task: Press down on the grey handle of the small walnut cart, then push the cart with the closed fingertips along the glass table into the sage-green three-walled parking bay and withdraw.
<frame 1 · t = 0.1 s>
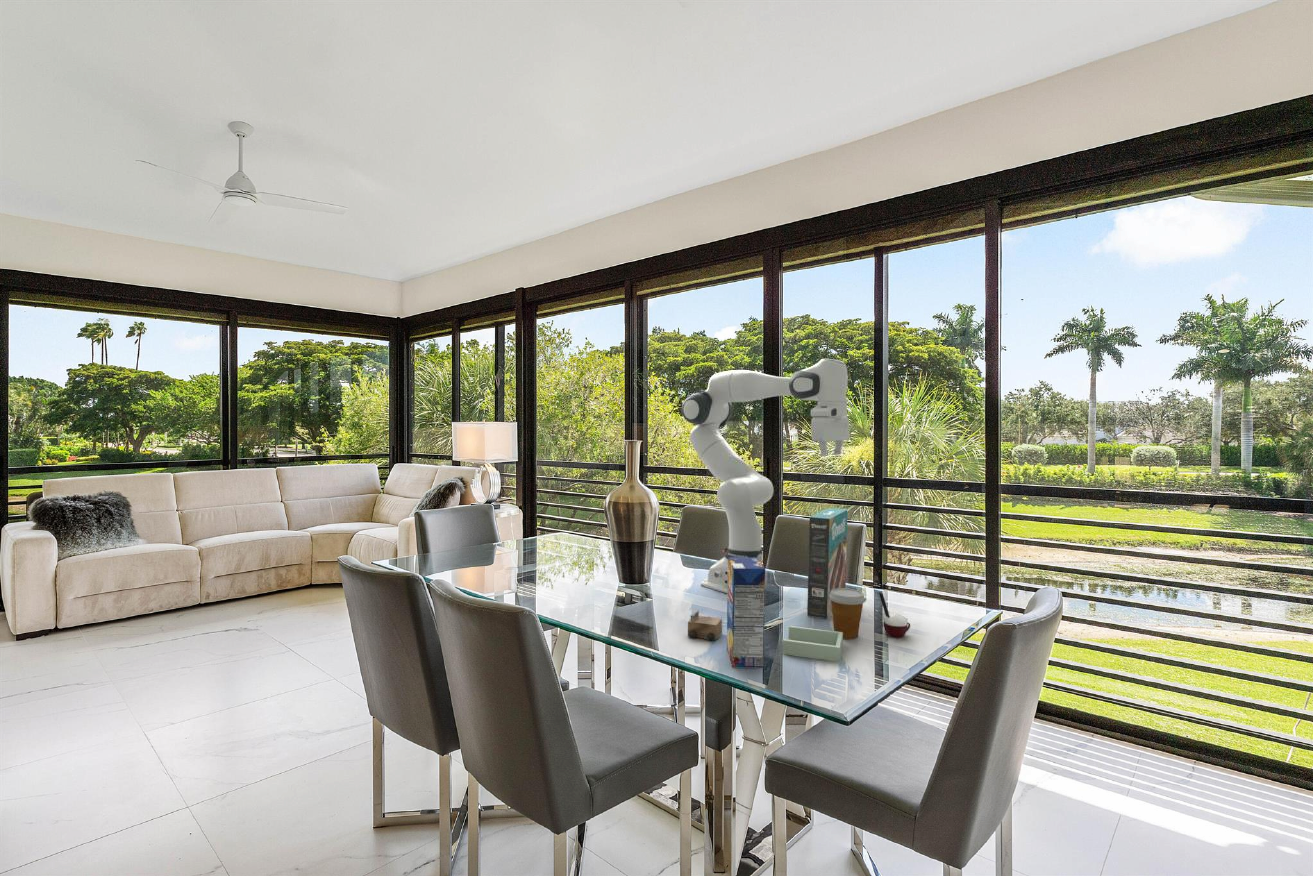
hand: (831, 455, 204), 48 cm above the table, tool pointing down, fingers open, 8 cm apart
cart: (704, 635, 179), on the table
bay: (812, 649, 169), on the table
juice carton: (744, 659, 162), on the table
disposable coffee cup: (845, 636, 180), on the table
cake mix box: (826, 608, 205), on the table
cocoa: (894, 636, 181), on the table
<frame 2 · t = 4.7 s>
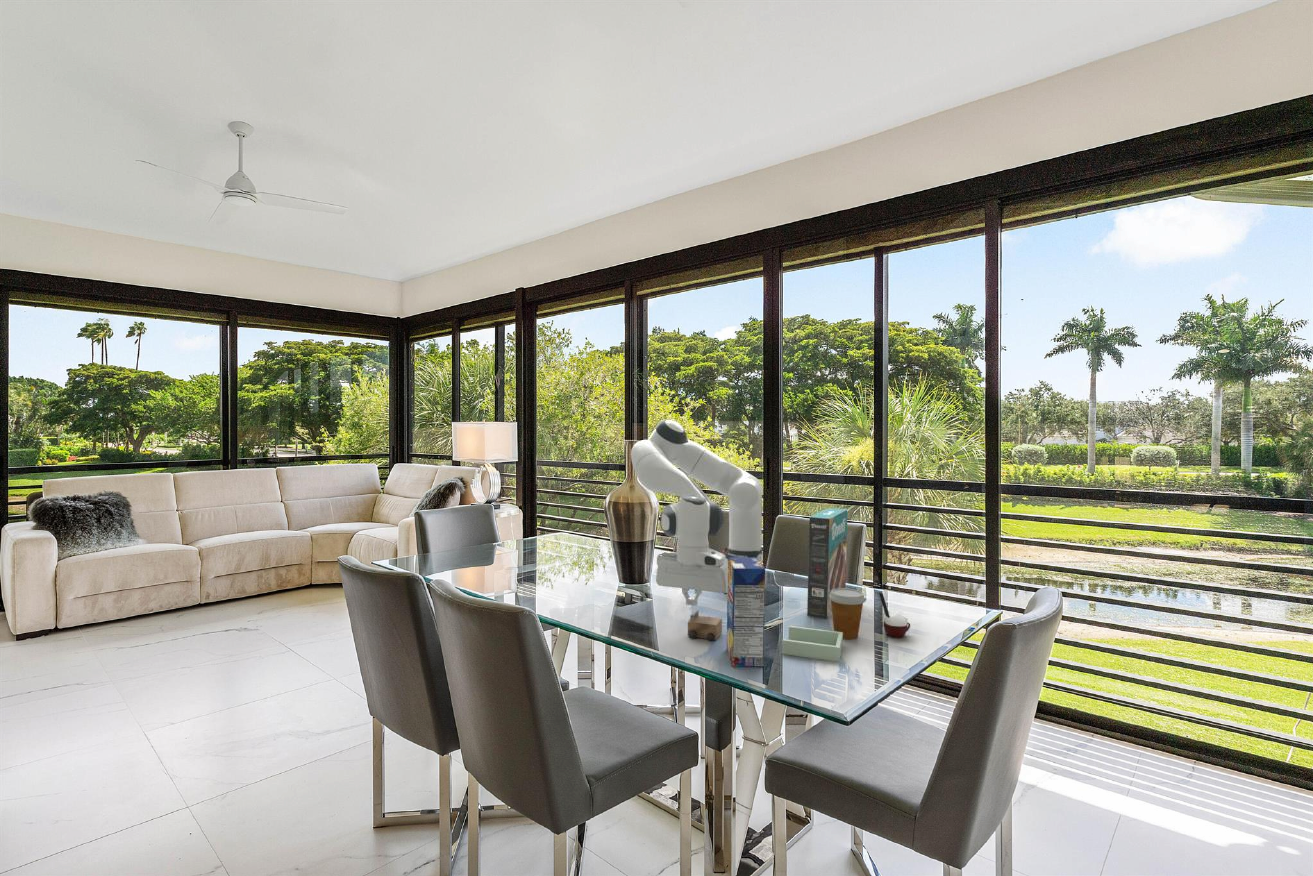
hand: (691, 604, 180), 8 cm above the table, tool pointing down, fingers closed
nothing on the table moved.
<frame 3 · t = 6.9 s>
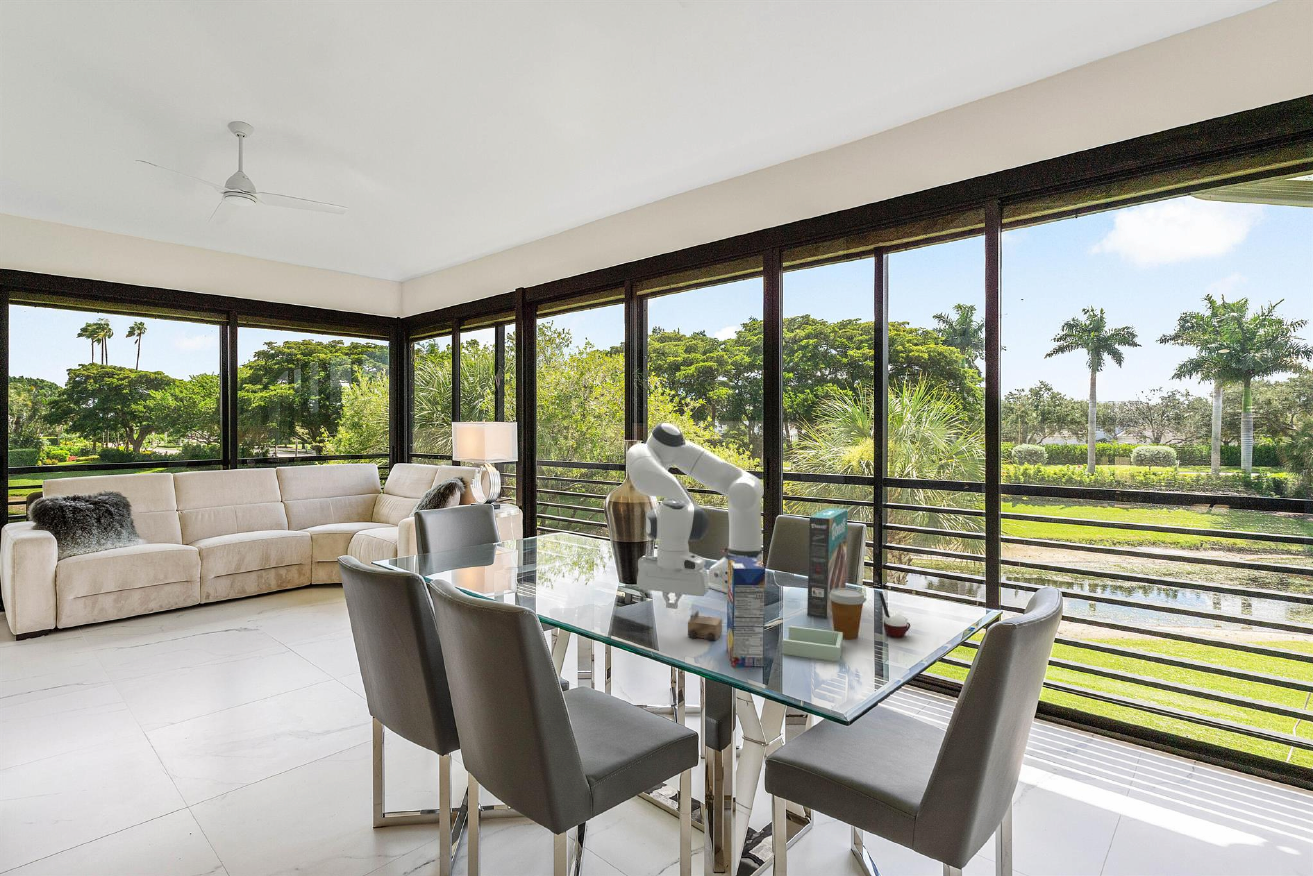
hand: (671, 607, 182), 6 cm above the table, tool pointing down, fingers closed
nothing on the table moved.
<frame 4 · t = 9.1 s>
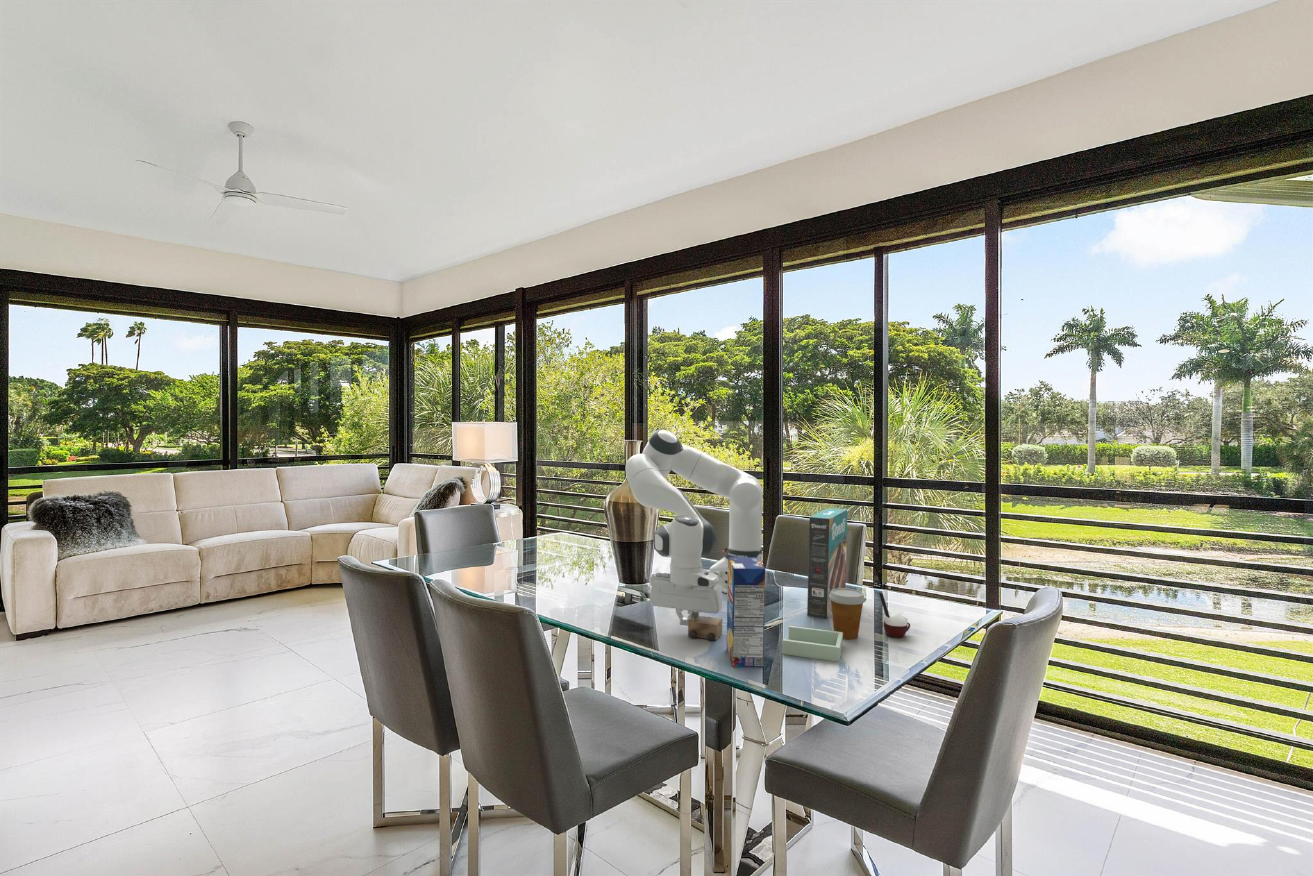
hand: (684, 624, 181), 2 cm above the table, tool pointing down, fingers closed
cart: (705, 635, 179), on the table, touching gripper
everything else where it was.
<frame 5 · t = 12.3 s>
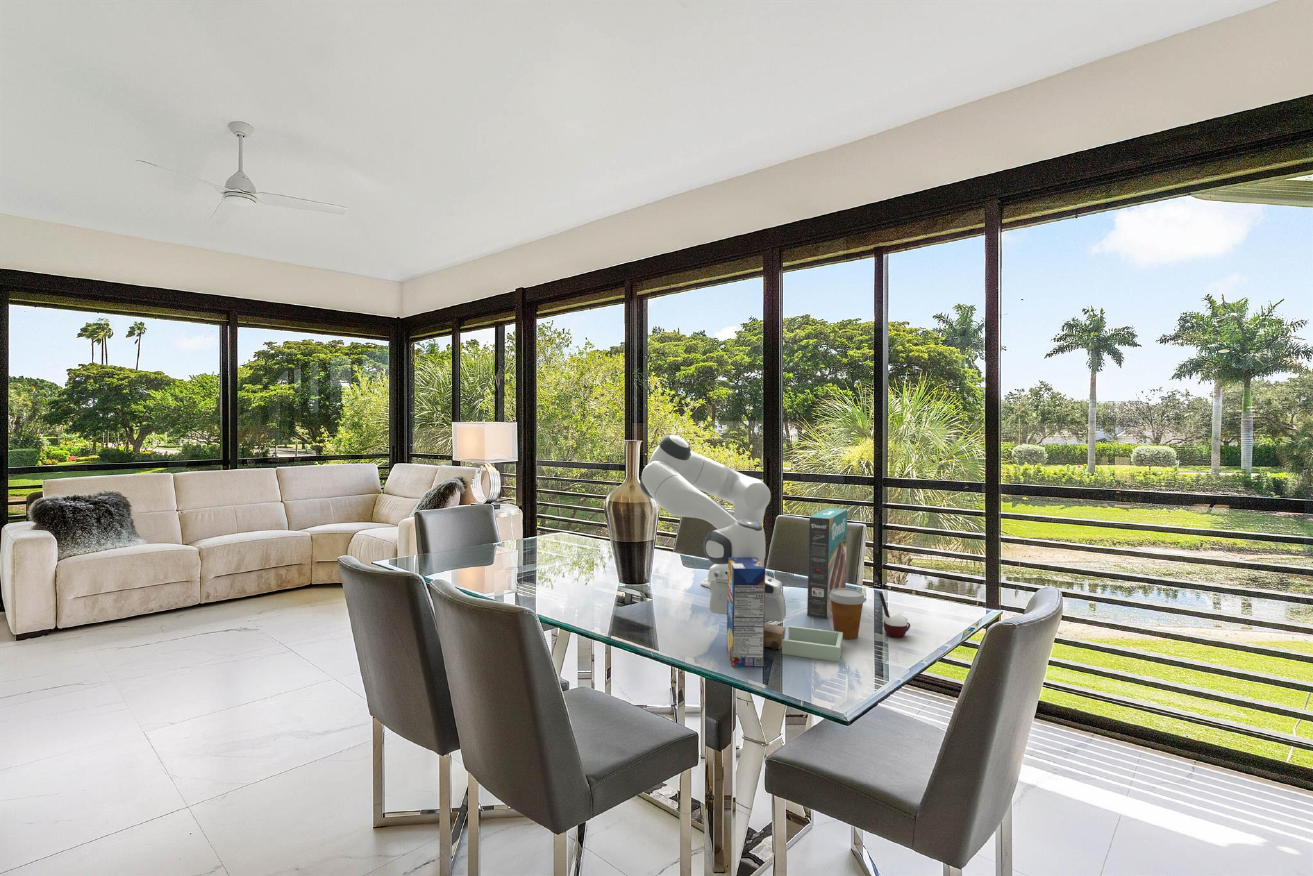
hand: (746, 633, 175), 2 cm above the table, tool pointing down, fingers closed
cart: (767, 643, 173), on the table, touching gripper
everything else where it was.
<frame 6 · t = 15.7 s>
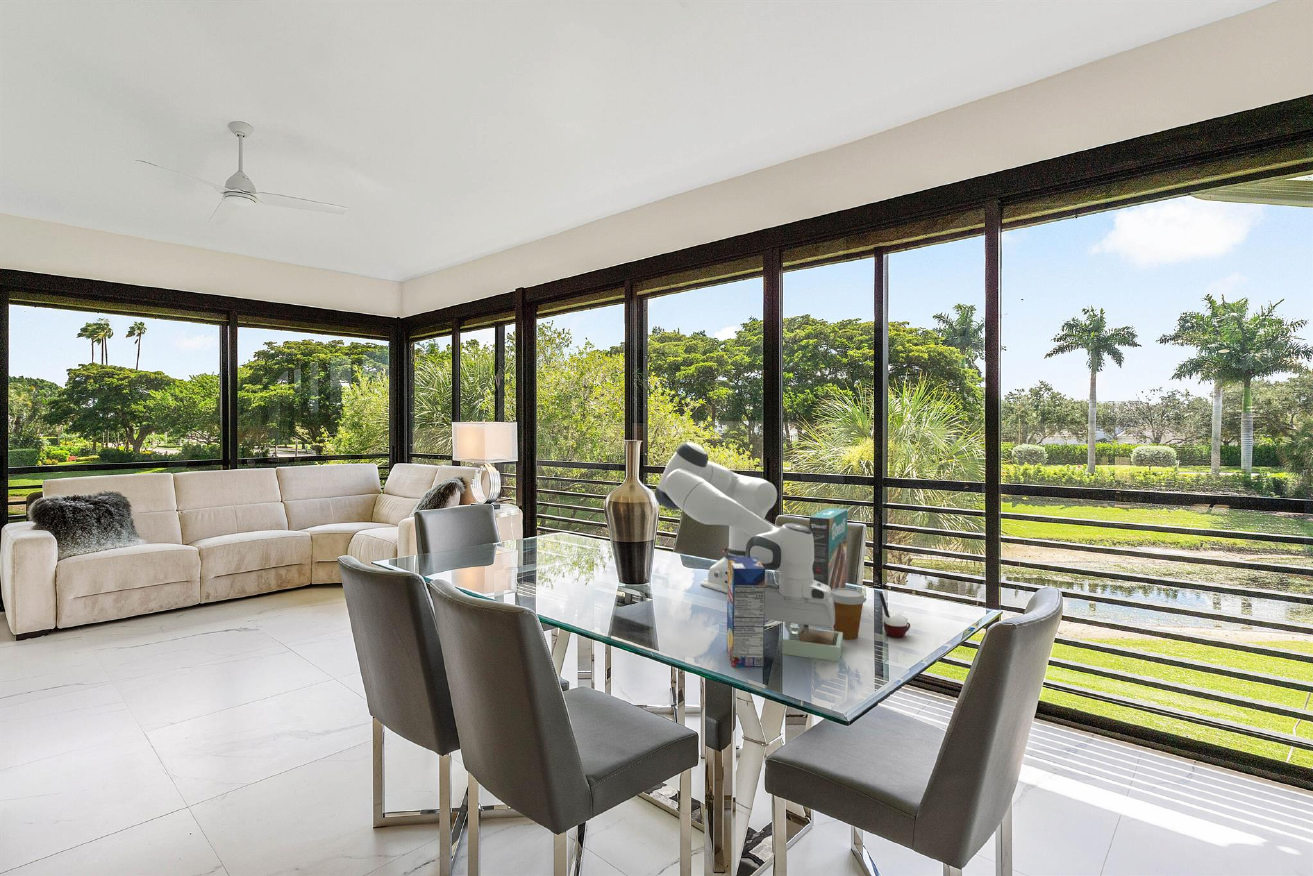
hand: (794, 639, 170), 2 cm above the table, tool pointing down, fingers closed
cart: (816, 649, 169), on the table, touching gripper
everything else where it was.
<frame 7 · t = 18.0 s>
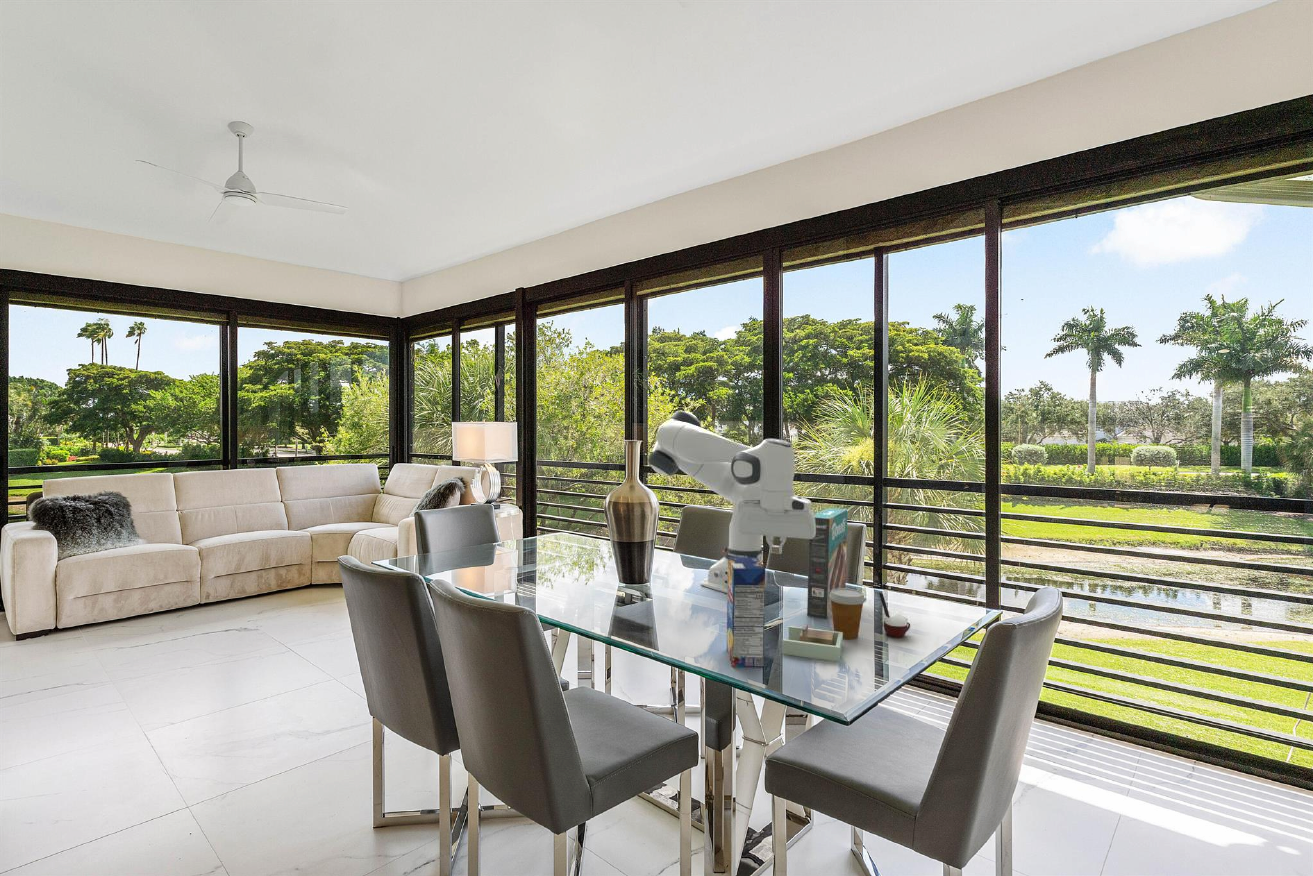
hand: (775, 553, 172), 24 cm above the table, tool pointing down, fingers closed
cart: (816, 650, 169), on the table
everything else where it was.
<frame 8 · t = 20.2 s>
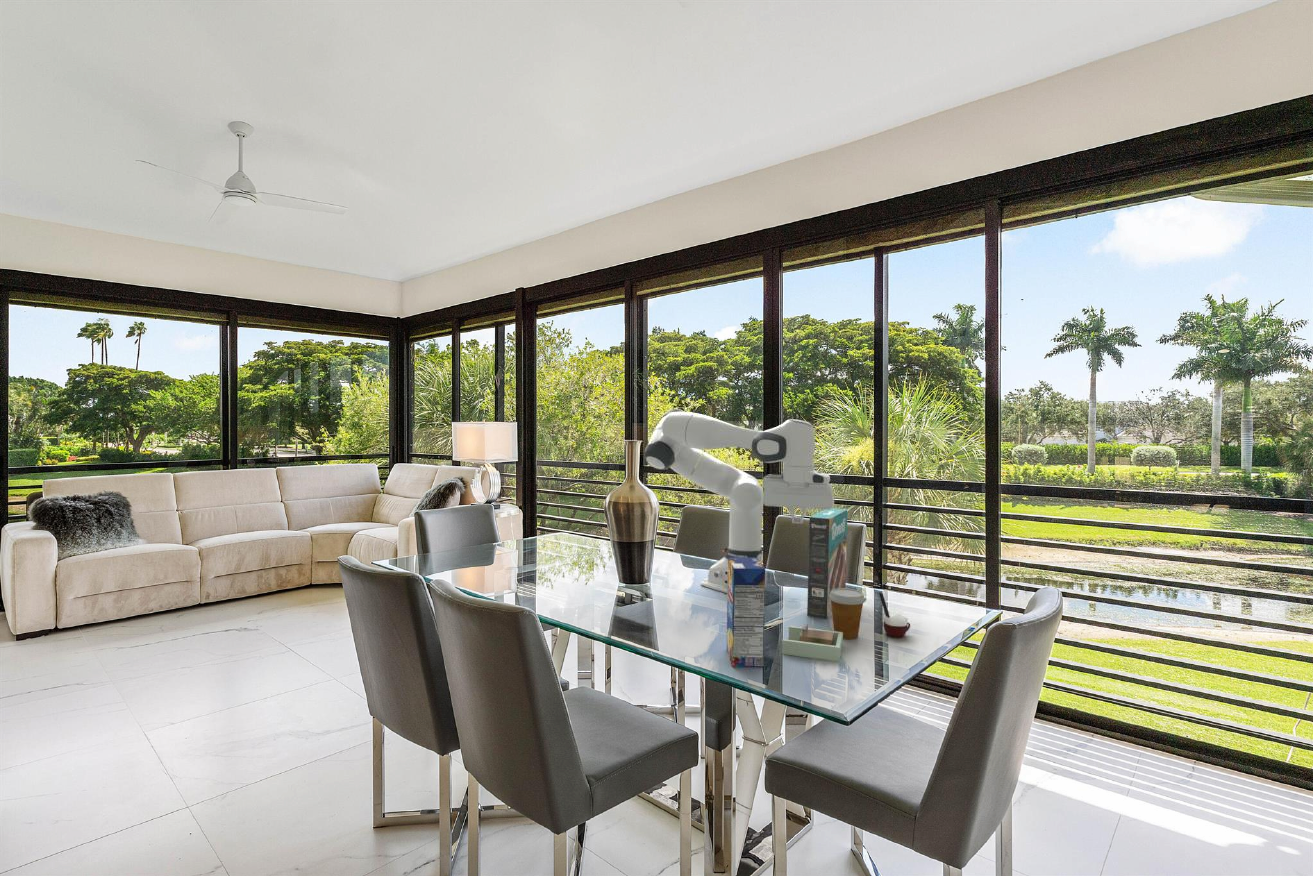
hand: (797, 523, 190), 29 cm above the table, tool pointing down, fingers closed
nothing on the table moved.
at the end: cart inside the target area on the bay (0.9 cm from its centre), point 0.0 cm above the bay's base; cart tilted 0° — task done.
